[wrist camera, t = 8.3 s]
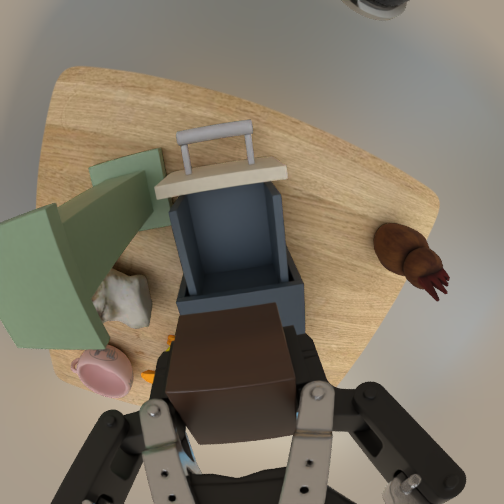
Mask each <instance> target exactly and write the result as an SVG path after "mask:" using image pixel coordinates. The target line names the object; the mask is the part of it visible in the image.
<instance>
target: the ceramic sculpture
mask: <svg viewBox="0 0 504 504" xmlns="http://www.w3.org/2000/svg"><path fill="white" fill-rule="evenodd" d="M91 300H92V302H93V304H94V306H95V309H96V311H97V313H98V315H99V317H100V319H101V321H102V323H104V322H106V321H121V322H123V323H124V324H126V325H127V326H129V327H131V328H135V329H138V328H142V327H148V326H149V323H150V318H151V311H152V300H151V297H150V293H149V288H148V283H147V279H146V277H145V276H143V275H134V276H127V275H125V274H123V273H121V272H119V271H116V270H115V269H113V268H111V270H110V271H109V273H108V274H107V275H106V277H105V278H104V280H103V281H102V283H101V284H100V286H99V287H98V289H97V290H96V292H95V294H94V295H93V297H92V298H91Z"/></svg>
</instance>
